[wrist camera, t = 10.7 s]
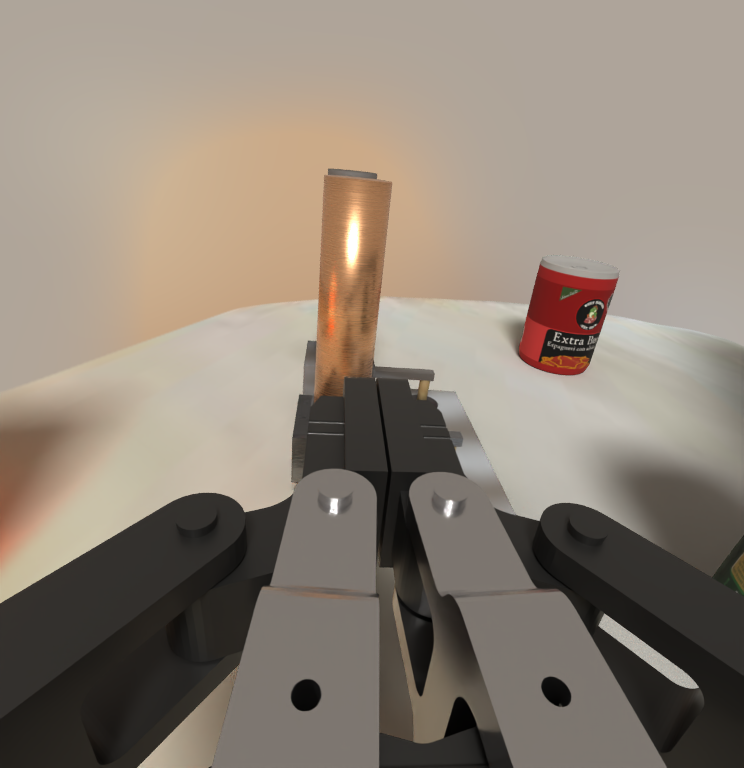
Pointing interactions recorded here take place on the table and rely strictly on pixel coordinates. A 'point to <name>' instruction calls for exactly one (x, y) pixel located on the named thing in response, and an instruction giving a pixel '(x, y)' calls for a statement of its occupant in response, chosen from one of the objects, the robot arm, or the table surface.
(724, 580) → the coffee jar
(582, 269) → the canned food
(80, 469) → the table surface
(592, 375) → the table surface
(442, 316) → the table surface
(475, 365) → the table surface
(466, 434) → the grey metal fixture
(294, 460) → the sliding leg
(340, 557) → the robot arm
